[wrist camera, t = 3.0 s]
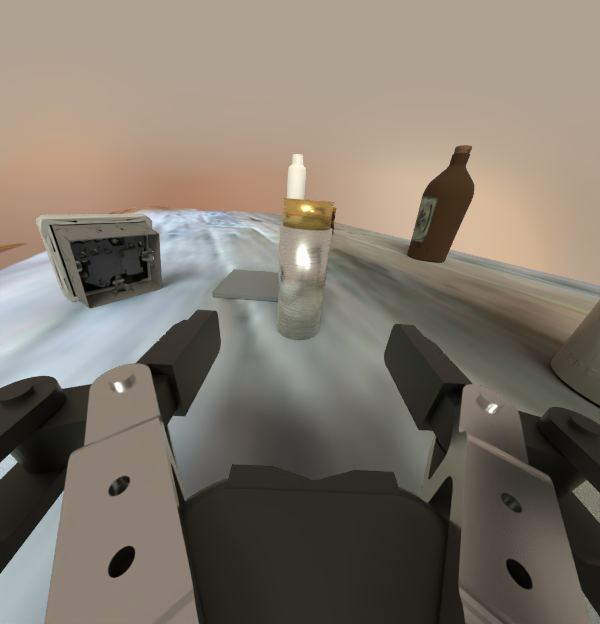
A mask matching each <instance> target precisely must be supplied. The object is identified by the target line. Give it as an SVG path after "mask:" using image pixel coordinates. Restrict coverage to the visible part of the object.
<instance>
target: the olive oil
mask: <svg viewBox="0 0 600 624" xmlns="http://www.w3.org/2000/svg"><path fill="white" fill-rule="evenodd" d="M471 149H472V146H468V145H464V146H457V147H456V148H455V152H454V154H453V155H452V158H451V162H450V165H449V167H448V168H447V169H446V170H444V171H443V172H442V173H441V174H440V175H438V176H437V177H436V178H435V179H433V180H432V181H431V182H430V183H429V185H428V186H427V188H426V189H425V191H424V193H423V196H422V200H421V205H420V208H419V213H418V217H417V220H416V224H415V229H414V232H413V236H412V239H411V243H410V247H409V251H408V256H409V257H412V258H415V259H418V260H423V261H429V262H444V261H445V259H446V257H447V254H448V252H449V250H450V247H451V245H452V243H453V240H454V238H455V235H456V234H457V231H458V229H459V227H460V224H461V222H462V220H463V218H464V215H465V213H466V211H467V209H468V207H469V205H470V203H471V201H472V198H473V194H474V183H473V181H472V179H471V177H470V175H469V173H468V171H467V169H466V164H467V161H468V159H469V156H470V154H469V153H470V151H471Z"/></svg>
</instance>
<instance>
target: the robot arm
mask: <svg viewBox="0 0 600 624" xmlns="http://www.w3.org/2000/svg"><path fill="white" fill-rule="evenodd" d="M220 345H221V339H220V330H219V321H218V314H217V312H216V311H211V310H197V311H196V312H195V313H194V314H193V315H192V316H191V317H190V318H189V319H188V320H183V321H181V322H179V323H177V324H175V325H173V326H172V327H171V328H170V329H169V330H168V331H167V332H166V335H163V336H162V337H161V338H160V339H159V341H157V342H156V343H155V344H154V345H153V346H152V347H151V348H150V349H149V350H148V351H147V352H146V353H145V354H144V355H143V356H142V357H141V358H140V359H139V360H138V361H137V362H136V363H135V364H127V365H123V366H119V367H116V368H114V369H111V370H109V371H107V372H106V373H104V374H102V375H101V376H100V377H98V378H97V379H96V380H95V381H94V382H93V384H90V385H84V386H78V387H71V388H65V389H62V388H61V387H60V385H59V383H58V382H57V380H56V379H55V378H53V377H50V376H38V377H31V378H27V379H23V380H20V381H17V382H14V383H11V384H9V385H7V386H4V387H2V388H0V462H1V461H2V460H3V459H4V458H6V457H7V456H8V455H9V454H11V455H12V456H13V457H14V458H15V459H16V460H17V461H18V463H17V464H16V465H15V466H14V467H13V468H12V469H11V470H10V471H9V472H8V473H7V474H6V475H5V476H4V477H3V478H2V479H1V480H0V573H1V572H2V571H3V569H4V568H5V567H6V566H7V564H8V563H9V562H10V560H11V559H12V558H13V556H14V555H15V554H16V552H17V551H18V550H19V548H20V547H21V546H22V544H23V543H24V542H25V540H26V539H27V538H28V536H29V535H30V534H31V533H32V531H33V530H34V529H35V527H36V526H37V525H38V523H39V522H40V521H41V519H42V518H43V517H44V515H45V514H46V513H47V511H48V510H49V509H50V507H51V506H52V505H53V503H54V502H55V501H56V500H57V498H58V497H59V496H60V494H61V493H62V492H63V490H64V494H63V501H62V508H61V515H60V522H59V529H58V535H57V542H56V549H55V556H54V562H53V569H52V576H51V583H50V590H49V596H48V603H47V610H46V617H45V624H591V623H590V620H589V616H588V612H587V609H586V605H585V601H584V597H583V594H582V591H583V593H584V594H585V596H586V597H587V599H588V600H589V602H590V603H591V605H592V606H593V607H594V609H595V610H596V612H597V613H598V615H599V616H600V523H599V522H598V521H597V520H596V519H595V517H594V516H593V515H592V514H591V513H590V512H589V511H588V509H587V508H586V507H585V506H584V505H583V504H582V503H581V501H580V500H579V499H578V498H577V497H576V496H575V495H574V493H573V492H572V491H573V490H574V489H575V488H577V487H578V486H579V485H580V484H582V483H583V482H584V481H586V480H588V481H589V482H590V483H591V484H592V485H593V486H594V487H595V488H596V489H597V490H598V491H599V492H600V425H599V424H597V423H596V422H594V421H592V420H591V419H589V418H587V417H585V416H583V415H581V414H579V413H576V412H574V411H571V410H568V409H564V408H560V407H552V408H550V409H549V410H548V411H547V412H546V413H545V414H544V415H543V416H542V417H538V416H534V415H531V414H528V413H524V412H521V411H518V410H517V409H516V407H515V406H514V405H513V404H512V403H511V402H510V401H509V400H508V399H506V398H505V397H504V396H502V395H501V394H499V393H497V392H495V391H494V390H491V389H489V388H487V387H484V386H481V385H475V384H472V383H471V382H470V380H469V379H468V378H467V377H466V376H465V375H464V374H463V373H462V372H461V371H460V370H459V369H458V367H457V366H456V365H455V364H454V363H453V362H452V361H450V359H449V358H448V357H447V356H446V355H445V354H443V351H442V350H441V349H440V348H439V347H438V346H437V345H436V344H435V343H433V342H432V341H430V340H429V339H427V338H426V337H424V336H423V335H422V334H421V333H420V331H419V330H418V329H417V328H416V327H415V326H414V325H403V324H395V325H394V326H393V328H392V331H391V334H390V337H389V340H388V343H387V346H386V349H385V353H384V361H385V364H386V367H387V368H388V370H389V372H390V374H391V376H392V378H393V380H394V382H395V384H396V386H397V388H398V390H399V392H400V394H401V396H402V398H403V400H404V402H405V404H406V406H407V408H408V410H409V412H410V414H411V416H412V418H413V420H414V421H415V423H416V425H417V427H418V429H419V430H430V431H433V432H434V434H435V436H434V438H433V440H432V443H431V448H430V452H429V457H428V461H427V466H426V471H425V475H424V480H423V484H422V488H421V491H420V493H419V496H418V497H417V496H416V495H414V494H413V493H410V492H408V491H406V490H404V489H402V488H399V487H398V484H397V481H396V478H395V475H394V472H383V471H361V470H353V471H350V472H346V473H342V474H339V475H335V476H331V477H328V478H324V479H320V480H310V479H307V478H304V477H302V476H299V475H296V474H293V473H290V472H287V471H284V470H282V469H279V468H276V467H273V466H254V465H233V464H232V467H231V471H230V475H229V478H228V479H225V480H221V481H219V482H216V483H214V484H211V485H209V486H207V487H206V488H204V489H202V490H200V491H199V492H197V493H196V494H194V495H193V496H191V497H190V498H188V499H186V495H185V491H184V488H183V484H182V481H181V477H180V473H179V469H178V465H177V460H176V456H175V452H174V448H173V444H172V439H171V435H170V431H169V427H168V423H169V421H170V419H171V418H172V416H186V414H187V412H188V410H189V408H190V406H191V404H192V402H193V401H194V399H195V397H196V395H197V393H198V391H199V389H200V387H201V385H202V384H203V382H204V380H205V378H206V376H207V374H208V372H209V370H210V368H211V367H212V365H213V363H214V361H215V359H216V357H217V355H218V353H219V350H220ZM551 367H552V369H553V370H554V372H555V373H556V374H557V375H558V376H559V377H560V378H561V379H562V380H563V381H564V382H565V383H567V384H568V385H569V386H570V387H572V388H573V389H574V390H576V391H577V392H579V393H580V394H582V395H583V396H585V397H586V398H588V399H590V400H591V401H593V402H595V403H596V404H598V405H600V300H599V302H598V303H597V304H596V305H595V307H594V308H593V309H592V310H591V312H590V313H589V314H588V315H587V317H586V318H585V319H584V320H583V322H582V323H581V324H580V325H579V326H578V328H577V329H576V330H575V331H574V333H573V334H572V335H571V337H570V338H569V339H568V340H567V342H566V343H565V344H564V345H563V347H562V348H561V349H560V350H559V352H558V353H557V354H556V355H555V357H554V358H553V359H552V361H551Z"/></svg>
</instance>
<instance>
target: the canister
mask: <svg viewBox="0 0 600 624" xmlns="http://www.w3.org/2000/svg"><path fill="white" fill-rule="evenodd" d="M333 204H334V202H325V201H314V200H303V199H291V198H284V201H283V224H280V245H279V275H278V305H277V330H278V332H279V333H280V334H281V335H283V336H285V337H287V338H290V339H296V340H304V339H309V338H312V337H314V336H315V335H316V334H317V333H318V330H319V323H320V315H321V308H322V301H323V294H324V287H325V280H326V273H327V265H328V258H329V251H330V244H331V237H332V230H333V229H332V228H330V226H331V219H332V212H333Z"/></svg>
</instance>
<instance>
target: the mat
mask: <svg viewBox="0 0 600 624" xmlns="http://www.w3.org/2000/svg"><path fill="white" fill-rule="evenodd" d="M278 275H279V273H274V272H261V271H247V270H233V271H232V272H231V273H230V274H229V275H228V276H227V277H226V278H225V279H224V281H223V282H222V283H221V284H220V285H219V286H218V287H217V288H216V289H215V290H214V291H213V292H212V294H213V297H222V298H236V299H250V300H264V301H278Z"/></svg>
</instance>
